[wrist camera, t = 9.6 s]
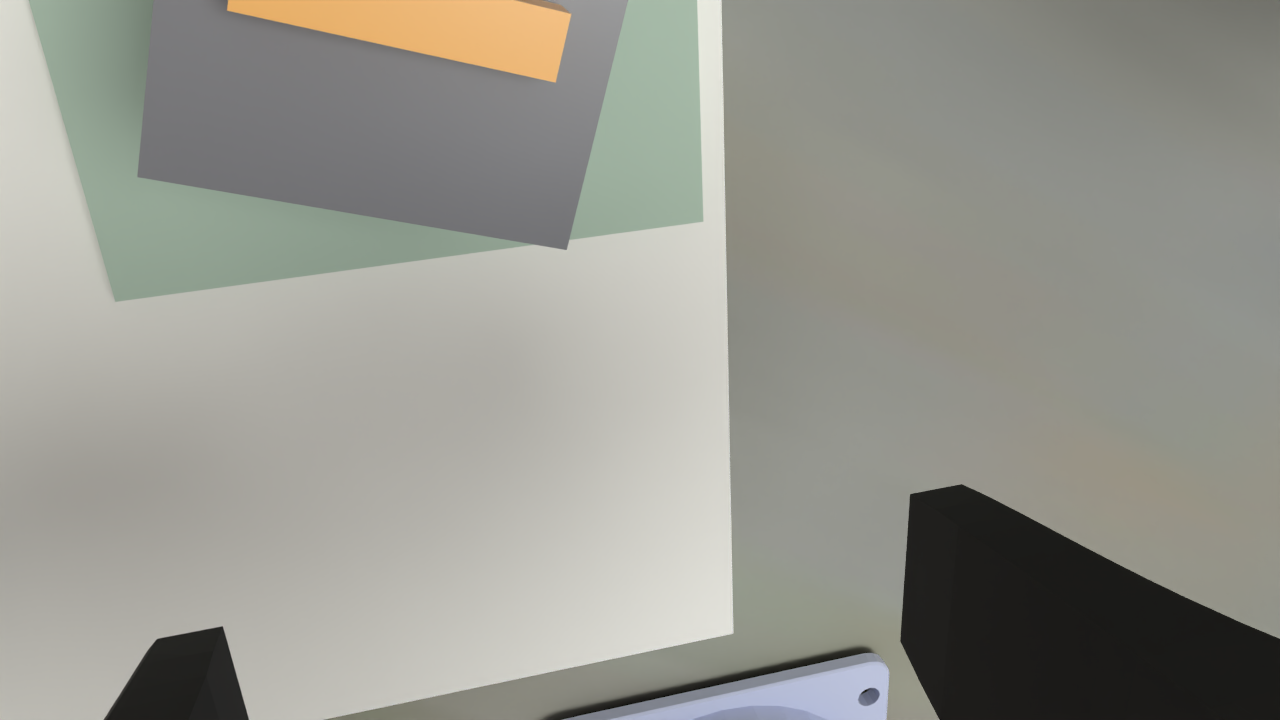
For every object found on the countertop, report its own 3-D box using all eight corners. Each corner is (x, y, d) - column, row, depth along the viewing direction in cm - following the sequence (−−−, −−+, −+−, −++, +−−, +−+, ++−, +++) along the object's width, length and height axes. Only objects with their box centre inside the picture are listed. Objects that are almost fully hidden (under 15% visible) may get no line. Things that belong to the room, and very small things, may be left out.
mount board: (711, 588, 24) (817, 805, 19) (-355, 803, 20) (-592, 1150, 15) (678, -516, 16) (857, -679, 10) (-1184, -506, 12) (-2415, -760, 6)
